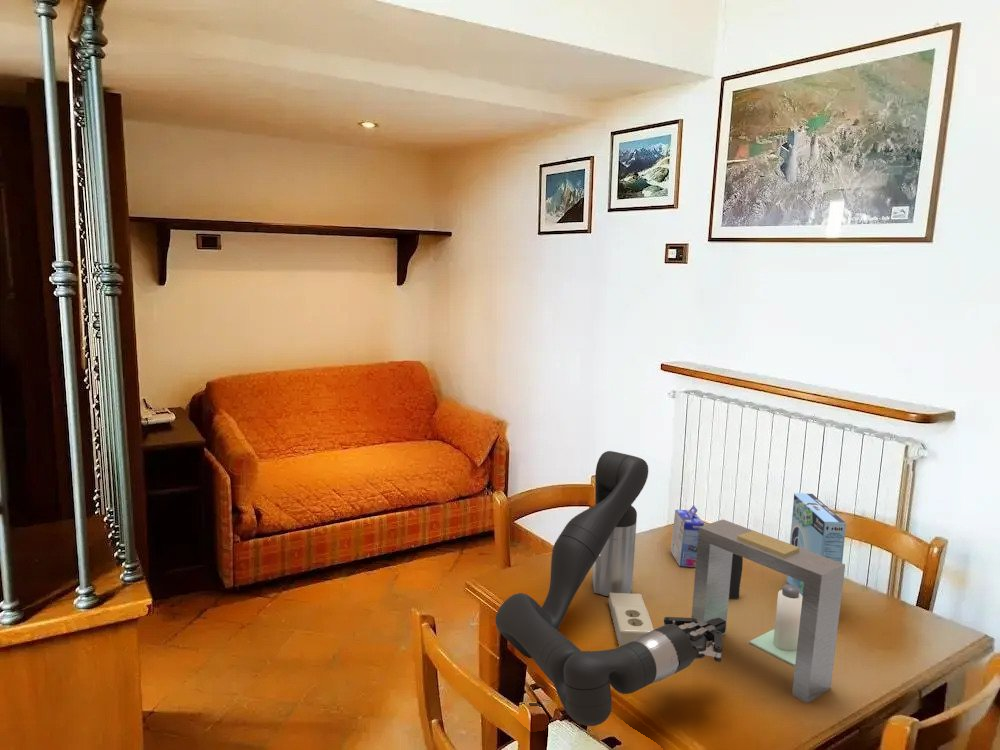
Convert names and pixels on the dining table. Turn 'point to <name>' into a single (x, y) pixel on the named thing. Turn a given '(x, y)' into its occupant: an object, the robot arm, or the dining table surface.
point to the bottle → (787, 618)
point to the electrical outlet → (629, 616)
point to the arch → (790, 560)
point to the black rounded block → (735, 576)
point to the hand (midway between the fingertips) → (722, 623)
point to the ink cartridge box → (685, 537)
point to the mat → (774, 648)
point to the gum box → (816, 530)
